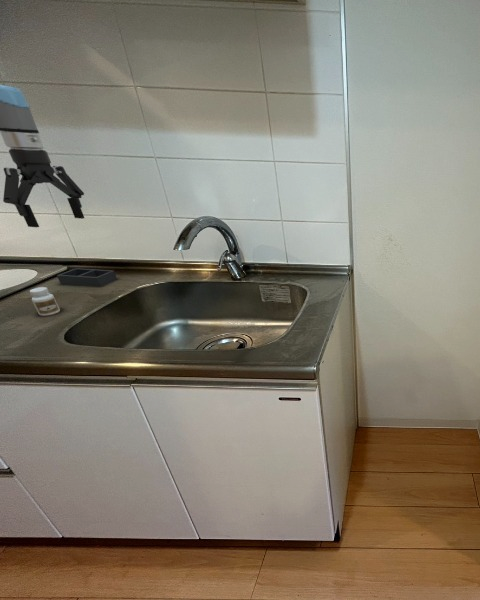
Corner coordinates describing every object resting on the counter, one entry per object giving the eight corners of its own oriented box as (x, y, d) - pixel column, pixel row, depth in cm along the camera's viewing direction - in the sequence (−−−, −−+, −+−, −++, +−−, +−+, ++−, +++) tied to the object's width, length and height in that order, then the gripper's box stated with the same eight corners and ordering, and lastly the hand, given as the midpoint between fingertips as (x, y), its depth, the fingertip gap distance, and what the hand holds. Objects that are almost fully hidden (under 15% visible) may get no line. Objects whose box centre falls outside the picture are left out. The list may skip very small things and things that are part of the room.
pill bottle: (41, 317, 90) (29, 293, 86) (37, 313, 92) (25, 289, 88) (62, 312, 93) (51, 289, 90) (57, 307, 95) (46, 285, 92)
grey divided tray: (100, 286, 109) (96, 277, 108) (60, 284, 109) (56, 275, 107) (117, 279, 116) (113, 270, 114) (79, 276, 115) (75, 268, 114)
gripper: (-17, 149, 78) (23, 232, 87) (82, 150, 100) (105, 215, 110) (-44, 147, 78) (-2, 230, 87) (61, 148, 101) (86, 214, 110)
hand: (58, 222), depth 99 cm, fingers open, 13 cm apart
